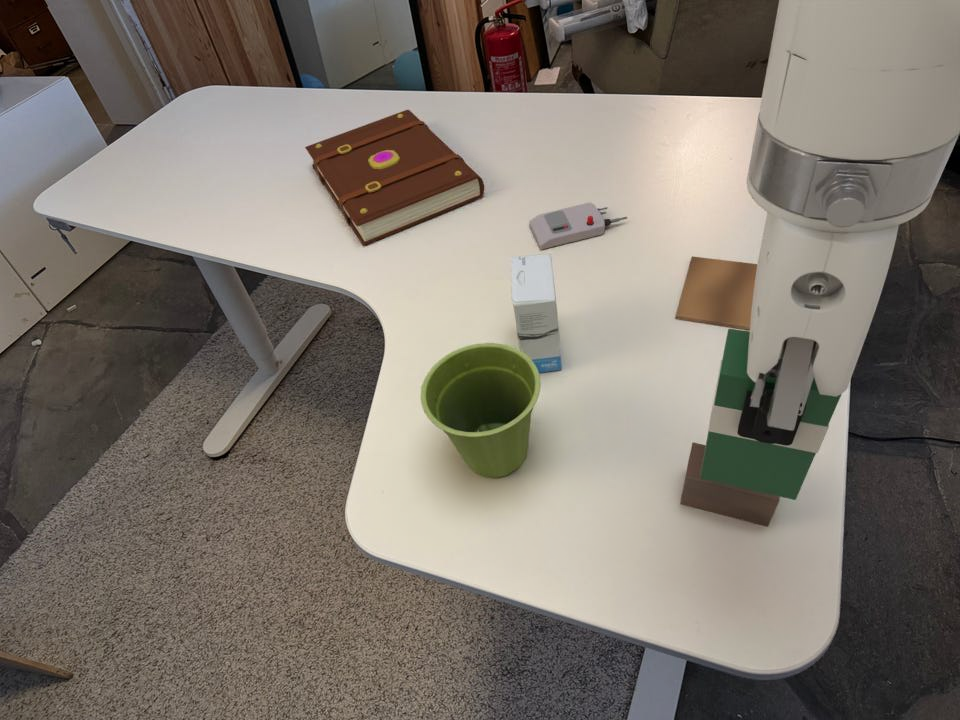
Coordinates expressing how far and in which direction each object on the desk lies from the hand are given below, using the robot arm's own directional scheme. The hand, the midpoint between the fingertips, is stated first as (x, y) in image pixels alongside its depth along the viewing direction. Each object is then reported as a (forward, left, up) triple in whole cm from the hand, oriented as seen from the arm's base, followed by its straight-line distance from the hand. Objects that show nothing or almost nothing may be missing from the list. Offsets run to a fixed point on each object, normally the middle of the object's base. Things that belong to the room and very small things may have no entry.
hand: (767, 406), depth 40 cm
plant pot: (+24, -4, -22) cm, 33 cm away
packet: (0, -2, -7) cm, 8 cm away
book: (+63, -53, -22) cm, 86 cm away
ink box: (+24, -20, -22) cm, 39 cm away
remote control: (+27, -45, -22) cm, 57 cm away
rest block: (0, -6, -22) cm, 23 cm away
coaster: (+3, -35, -22) cm, 42 cm away
